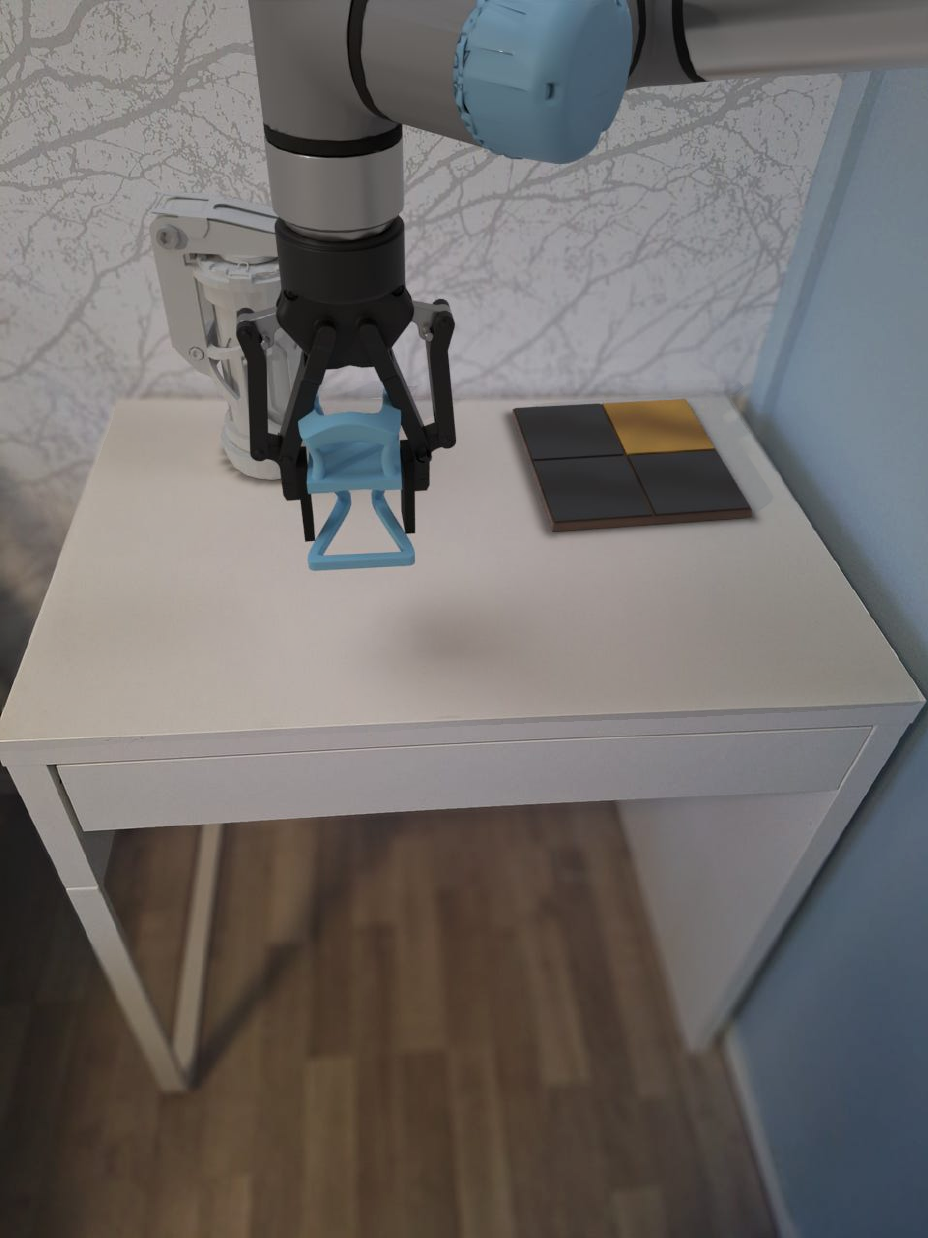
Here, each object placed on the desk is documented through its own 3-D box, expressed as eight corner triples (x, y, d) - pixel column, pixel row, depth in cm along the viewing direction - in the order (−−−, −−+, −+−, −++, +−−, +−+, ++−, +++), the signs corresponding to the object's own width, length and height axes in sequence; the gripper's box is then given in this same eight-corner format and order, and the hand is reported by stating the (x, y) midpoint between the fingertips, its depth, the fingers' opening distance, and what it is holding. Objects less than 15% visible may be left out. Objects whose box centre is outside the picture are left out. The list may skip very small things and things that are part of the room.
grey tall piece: (332, 425, 99) (314, 184, 81) (320, 484, 91) (297, 232, 74) (211, 420, 99) (167, 177, 81) (189, 479, 91) (135, 225, 74)
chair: (410, 496, 73) (404, 358, 64) (415, 566, 67) (408, 424, 58) (312, 501, 72) (293, 363, 64) (308, 571, 66) (286, 429, 58)
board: (749, 517, 90) (753, 508, 90) (552, 531, 88) (553, 522, 87) (684, 406, 104) (686, 397, 103) (511, 416, 102) (512, 406, 101)
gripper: (494, 185, 57) (479, 486, 73) (167, 194, 54) (227, 505, 70) (519, 234, 52) (496, 547, 68) (158, 247, 49) (224, 569, 65)
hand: (359, 525), depth 69 cm, fingers closed on chair, 7 cm apart
